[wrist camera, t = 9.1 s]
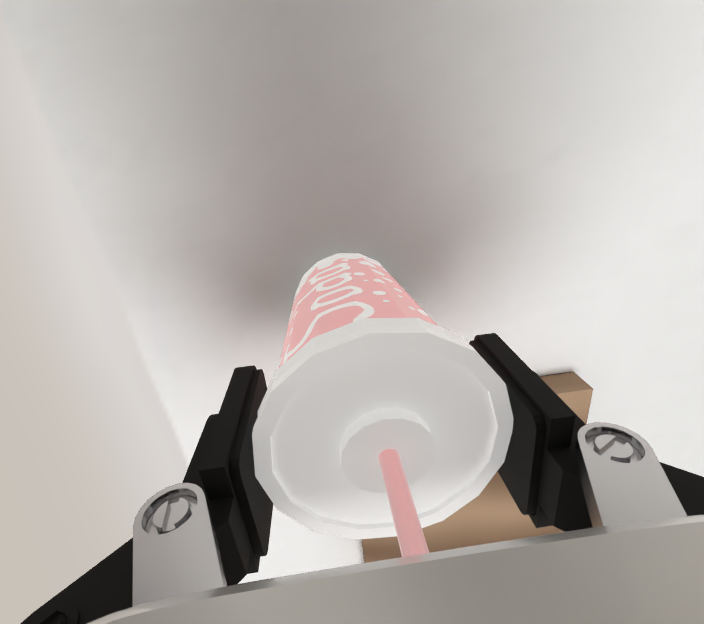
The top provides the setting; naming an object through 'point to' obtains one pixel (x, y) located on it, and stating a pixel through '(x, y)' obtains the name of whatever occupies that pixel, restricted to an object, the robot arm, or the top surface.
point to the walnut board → (488, 499)
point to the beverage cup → (375, 411)
